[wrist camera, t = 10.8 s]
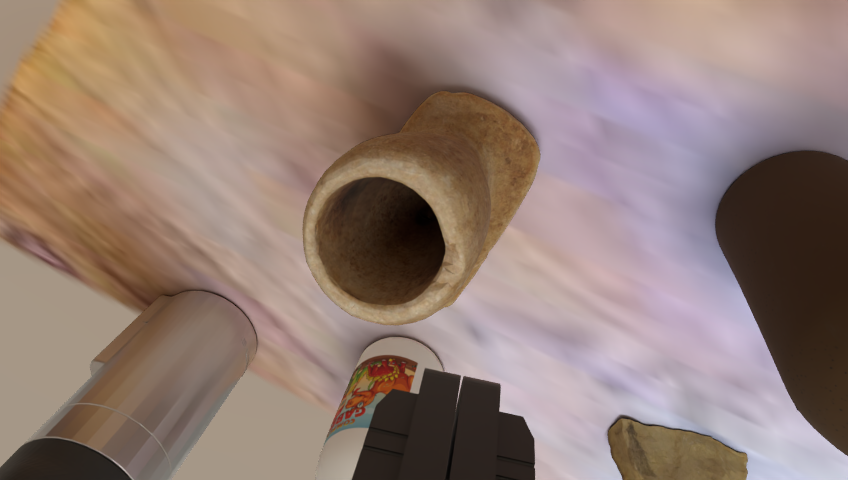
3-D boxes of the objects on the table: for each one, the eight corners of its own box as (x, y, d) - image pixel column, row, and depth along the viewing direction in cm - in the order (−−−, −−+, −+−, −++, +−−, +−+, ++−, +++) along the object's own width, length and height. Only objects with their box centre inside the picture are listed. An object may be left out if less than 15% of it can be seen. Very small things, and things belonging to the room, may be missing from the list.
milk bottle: (457, 352, 49) (412, 579, 32) (430, 413, 53) (377, 647, 36) (371, 321, 50) (280, 532, 32) (351, 385, 53) (260, 604, 36)
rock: (572, 455, 50) (641, 538, 51) (630, 494, 41) (711, 592, 42) (656, 368, 52) (720, 449, 53) (727, 387, 43) (801, 483, 45)
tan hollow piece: (411, 48, 39) (345, 107, 26) (563, 139, 40) (574, 240, 27) (323, 222, 46) (237, 336, 33) (454, 294, 47) (420, 434, 34)
